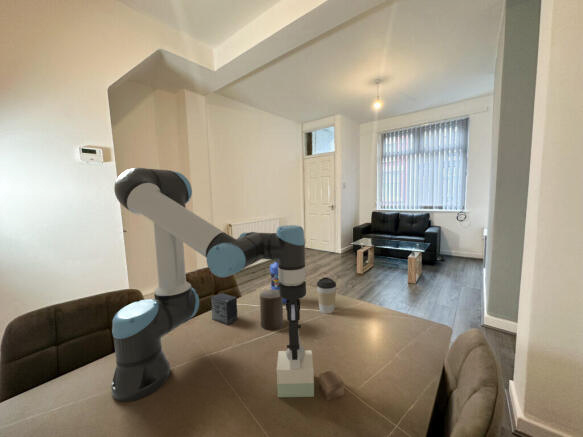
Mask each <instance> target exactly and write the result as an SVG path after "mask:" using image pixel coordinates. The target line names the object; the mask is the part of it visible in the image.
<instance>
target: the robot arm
mask: <svg viewBox="0 0 583 437" xmlns="http://www.w3.org/2000/svg"><path fill="white" fill-rule="evenodd" d="M113 189H114V195H115V197H116V199H117V201H118V202H119V203H120V204H121V206H123V207H124V208H125V209H126V210H128V211H130V213H132V214H134V215H140V216H141V215H142V216H143V217H145V218H147V219H148V220H150V221H151V222H152V223H153V232H154V246H155V257H156V268H157V270H156V271H157V279H158V280H157V281H158V286H157V287H156V288H155V289H154V291H153V296H154V299H151V298H147V299H141V300H139V301H134V302H132V303H130V304H128V305H125V306H123V307H122V308H121V309H120V310H119V311H117V312H116V313H115V314H114V316H113V319H112V329H111V330H112V331H111V334H112V336H113V344H114V352H115V353H114V354H115V362H116V366H115V370H114V374H113V377H112V381H111V385H110V388H111V395H112V397H113V398H114V400H117V401H120V402H131V401H132V402H133V401H136V400H138V399H142V398H144V397H147V396H149V395H150V394H152V393H154V392H155V391H156V390H158V389H160V388H161V387H162V386H163V385H165V382H166V381H167V380H168V379H169V377H170V374H171V368H170V366H171V365H170V361H169V360H168V359H167V357H166V355H165V353H164V350H163V349H162V348H163V347H162V338H164V337H165V336H166V335H168V334H169V333H170V332H172V331H173V330H175V329H177V328H178V327H180V326H181V325H182V324H185V323H187V322H189V320H191V318H193V317H194V316H195V315H196V314H197V313H198V311H199V306H200V298H199V294H198V293H197V291H196V289H195V288H193V287H192V284H191V283H190V282H188V281H187V278H186V277H187V275H186V262H185V249H184V248H185V247H184V244H185V245H187V246H188V247H190V248H191V249H193V250H194V251H196V252H197V253H199V254H200V255H202V256H203V257H205V258H206V265H207V268H209V270H210V272H211V273H212V275H214V276H215V277H218V278H227V277H230V276H232V275H235V274H238V273H240V272H241V271H242V270H244V269H246V268H247V267H249V266H251V265H253V264H255V263H257V262H258V261H260V260H273V261H275V260H278V277H279V281H280V283H279V294H280V296H281V297H282V298H284V299H286V303H285V309H286V310H285V311H286V318H287V321H288V341H289V343H288V344H287V345H286V348H287V349H289V350H290V369H300V346H299V339H300V329H302V325H301V324H299V322H300V319H301V316H300V310H301V299H304V298H305V296H306V295H307V282H306V274H307V273H308V272H309V271H308V270H309V269H308V268H306V239H305V231H304V228H303V227H302V226H300V225H296V224H295V225H293V224H291V225H290V224H289V225H282V226H278V227H277V228H276V232H273V233H272V232H257V231H256V232H255V231H251V232H243V233H241V234H240V235H239V236H238V238H234V237H233V236H231V235H230V234H228V233H227V232H225V231H224V230H221V229H220V228H218V227H217V226H215V225H213V224H211V223H210V222H208V221H207V220H205V218H202V217H201V216H199V215H197V214H196V213H194V212H193V211H191V210H190V209H188V208H187V207H186V204H187V203H189V201H190V199H191V198H192V195H193V190H192V185H191V182H190V181H189V179H188V178H187V177H186V176H185V175H184V174H182V173H181V172H179V171H175V170H168V169H158V168H157V169H155V168H145V167H133V168H130V169H129V168H128V169H126V170H124V171H123V172H122V173H121V174H120V175H119V176H118V177H117V178H116V180H115V183H114V188H113ZM166 383H167V382H166Z"/></svg>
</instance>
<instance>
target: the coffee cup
mask: <svg viewBox="0 0 583 437" xmlns="http://www.w3.org/2000/svg"><path fill="white" fill-rule="evenodd" d="M316 287H317V300H318V309H319V312H320V311H321V312H320V313H322V314H325V313H330V314H333V313H334V312H335V303H336V292H337V291H336V287H337V283H336V281H335V280H334V279H332V278H329V277H328V276H327V277H322V278H320V279H319V280H318V281H317V282H316ZM333 311H334V312H333ZM332 312H333V313H332Z"/></svg>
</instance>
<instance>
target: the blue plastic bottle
mask: <svg viewBox="0 0 583 437" xmlns="http://www.w3.org/2000/svg"><path fill="white" fill-rule="evenodd" d="M269 273H270V277H271V281H270V290H279V283H280V281H279V277H278V260H274V262H273V263H271V264H270V265H269ZM284 303H285V304H286V299H284V298H283V305H284Z"/></svg>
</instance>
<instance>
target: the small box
mask: <svg viewBox="0 0 583 437" xmlns="http://www.w3.org/2000/svg"><path fill="white" fill-rule="evenodd" d="M237 299H238V298H237V296H235V295H234V296H232V295H229V294H226V293H223V292H222V293H218V294H216V295H213V296H211V297H210V302H211V319H212V320H213V321H216V322H218V323H220V324H224V325H225V326H229V325H230V324H232V323H234V322H235V321H237V320H238V319H239V318H238V300H237Z"/></svg>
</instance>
